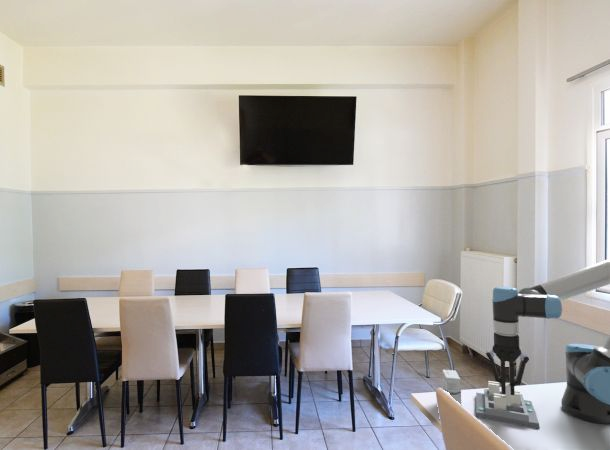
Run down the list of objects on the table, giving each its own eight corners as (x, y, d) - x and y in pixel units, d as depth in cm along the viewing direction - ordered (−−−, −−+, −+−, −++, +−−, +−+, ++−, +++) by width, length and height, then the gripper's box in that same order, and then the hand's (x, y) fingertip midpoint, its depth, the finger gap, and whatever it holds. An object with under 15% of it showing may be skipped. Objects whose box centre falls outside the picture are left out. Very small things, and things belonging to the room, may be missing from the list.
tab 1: (499, 397, 132) (498, 382, 133) (499, 401, 129) (499, 385, 130) (488, 395, 134) (488, 380, 134) (489, 399, 131) (488, 383, 131)
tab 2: (505, 411, 122) (505, 394, 122) (506, 415, 119) (505, 398, 119) (494, 409, 123) (493, 392, 124) (494, 413, 120) (494, 396, 121)
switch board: (531, 405, 129) (531, 395, 129) (539, 428, 114) (538, 417, 114) (476, 396, 137) (476, 387, 137) (476, 416, 121) (476, 406, 122)
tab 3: (519, 406, 125) (519, 390, 125) (521, 411, 122) (520, 394, 122) (508, 405, 126) (507, 388, 126) (509, 409, 123) (508, 392, 124)
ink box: (462, 413, 124) (461, 378, 125) (447, 411, 125) (446, 377, 126) (456, 401, 133) (455, 369, 133) (442, 400, 134) (442, 369, 134)
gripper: (527, 332, 122) (529, 402, 121) (484, 328, 127) (486, 395, 126) (530, 338, 115) (532, 412, 114) (484, 333, 120) (486, 405, 120)
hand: (508, 403), depth 120 cm, fingers closed
